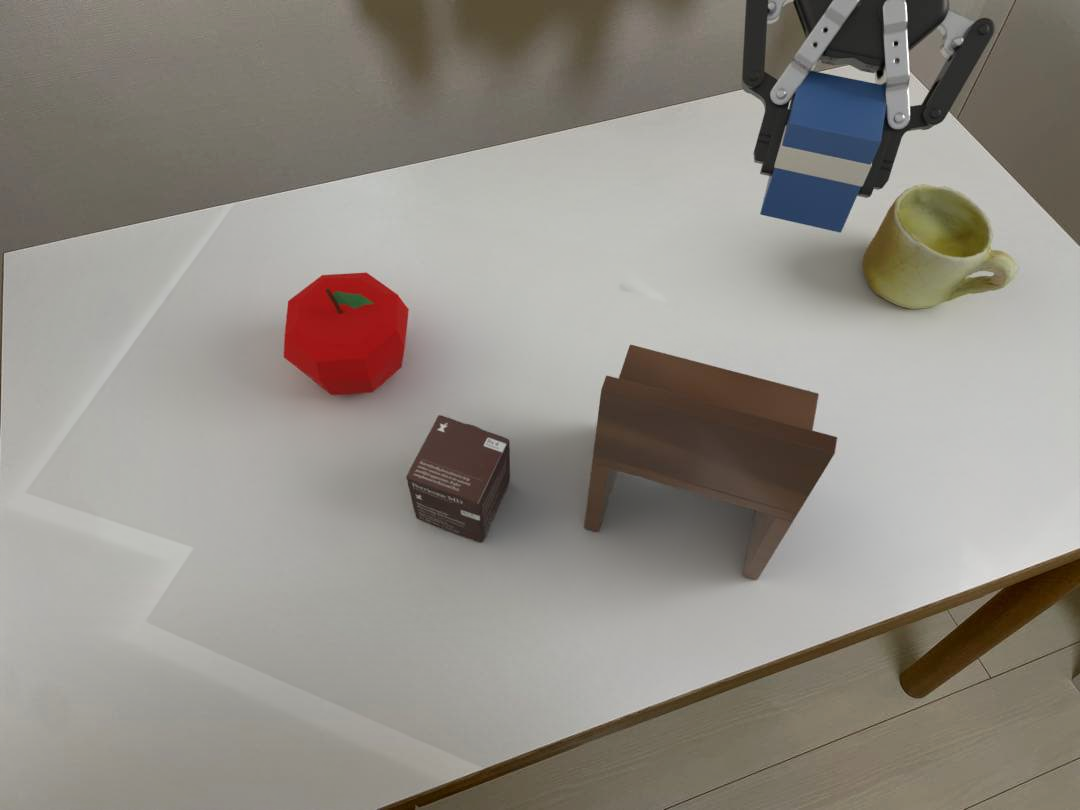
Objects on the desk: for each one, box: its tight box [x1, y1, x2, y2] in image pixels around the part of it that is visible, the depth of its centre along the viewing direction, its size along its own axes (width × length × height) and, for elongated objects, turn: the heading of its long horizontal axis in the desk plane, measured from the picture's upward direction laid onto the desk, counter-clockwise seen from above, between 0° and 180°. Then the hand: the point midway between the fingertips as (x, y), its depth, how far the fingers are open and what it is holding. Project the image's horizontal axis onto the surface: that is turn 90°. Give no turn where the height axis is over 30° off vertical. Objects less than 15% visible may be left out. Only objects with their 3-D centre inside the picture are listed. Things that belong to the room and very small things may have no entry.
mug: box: [861, 184, 1019, 310], centre depth 79 cm, size 12×10×10 cm
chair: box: [583, 344, 838, 581], centre depth 61 cm, size 10×14×20 cm
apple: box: [283, 271, 410, 396], centre depth 72 cm, size 11×11×10 cm
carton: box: [759, 70, 886, 234], centre depth 50 cm, size 5×5×7 cm
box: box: [405, 414, 511, 544], centre depth 66 cm, size 6×6×7 cm
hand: (814, 183), depth 50 cm, fingers closed on carton, 5 cm apart
